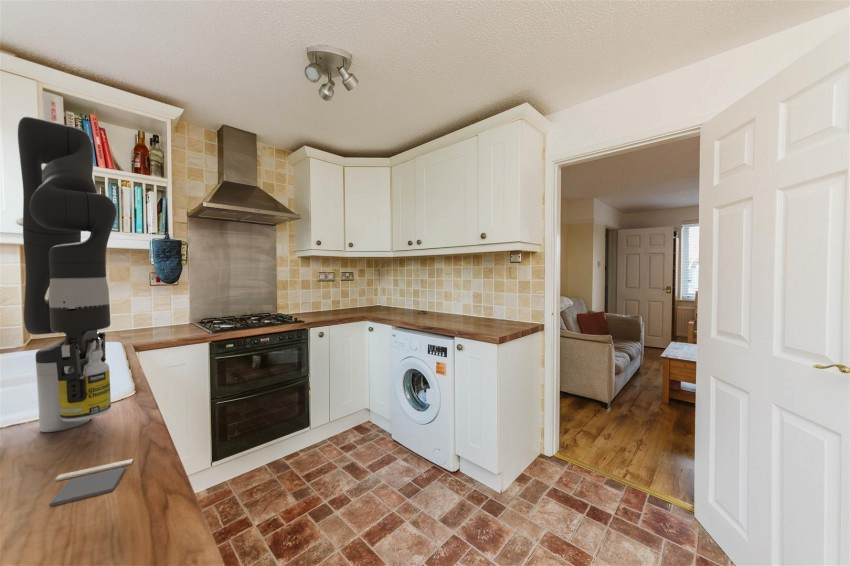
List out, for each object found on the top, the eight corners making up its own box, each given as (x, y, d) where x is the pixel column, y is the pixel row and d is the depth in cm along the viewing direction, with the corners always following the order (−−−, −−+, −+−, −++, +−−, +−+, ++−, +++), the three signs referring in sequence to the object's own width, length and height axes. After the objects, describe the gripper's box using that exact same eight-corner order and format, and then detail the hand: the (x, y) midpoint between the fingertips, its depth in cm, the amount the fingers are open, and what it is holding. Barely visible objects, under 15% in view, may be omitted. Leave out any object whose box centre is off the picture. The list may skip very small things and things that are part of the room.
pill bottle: (79, 424, 57) (75, 356, 57) (50, 421, 58) (46, 355, 58) (120, 409, 63) (117, 348, 63) (93, 406, 65) (90, 346, 64)
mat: (69, 481, 63) (69, 479, 63) (125, 469, 67) (125, 466, 67) (49, 506, 56) (49, 503, 56) (112, 490, 60) (112, 488, 60)
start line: (59, 476, 65) (59, 474, 65) (133, 460, 70) (133, 458, 70) (55, 481, 63) (55, 478, 63) (131, 464, 69) (131, 462, 69)
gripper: (69, 301, 65) (74, 387, 65) (28, 308, 52) (34, 414, 53) (120, 299, 68) (124, 380, 69) (93, 305, 56) (98, 404, 56)
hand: (85, 394), depth 61 cm, fingers closed on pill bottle, 6 cm apart
